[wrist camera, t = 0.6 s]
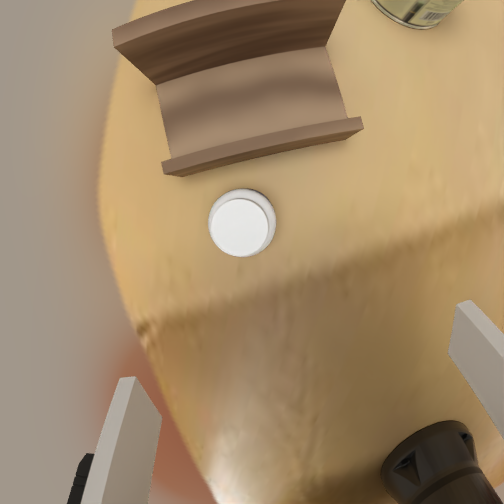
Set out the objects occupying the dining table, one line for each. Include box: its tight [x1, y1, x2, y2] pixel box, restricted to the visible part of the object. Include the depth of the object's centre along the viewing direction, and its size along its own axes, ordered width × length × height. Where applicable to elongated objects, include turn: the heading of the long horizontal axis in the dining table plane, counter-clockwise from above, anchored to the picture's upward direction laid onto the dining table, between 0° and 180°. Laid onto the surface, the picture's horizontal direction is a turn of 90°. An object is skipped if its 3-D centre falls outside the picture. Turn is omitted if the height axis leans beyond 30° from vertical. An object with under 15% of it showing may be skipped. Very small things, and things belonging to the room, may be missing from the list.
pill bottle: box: [208, 189, 276, 257], centre depth 26 cm, size 5×5×9 cm
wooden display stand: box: [112, 0, 364, 177], centre depth 23 cm, size 11×16×12 cm, turn 104°
